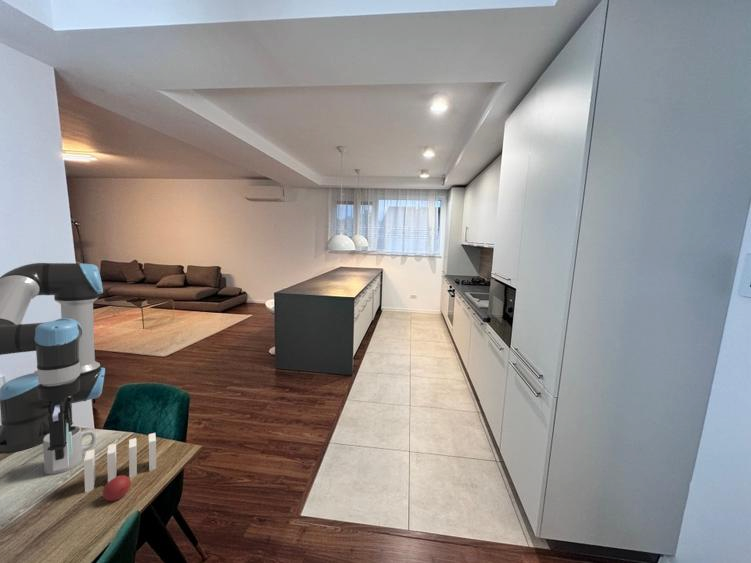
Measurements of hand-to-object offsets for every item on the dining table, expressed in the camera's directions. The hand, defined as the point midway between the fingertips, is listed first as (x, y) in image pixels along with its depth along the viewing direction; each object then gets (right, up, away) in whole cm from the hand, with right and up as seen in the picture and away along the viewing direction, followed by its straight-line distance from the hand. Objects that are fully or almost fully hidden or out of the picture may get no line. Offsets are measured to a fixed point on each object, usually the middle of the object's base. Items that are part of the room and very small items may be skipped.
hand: (63, 461), depth 79 cm
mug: (-16, -11, +18) cm, 27 cm away
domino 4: (+6, -13, +16) cm, 21 cm away
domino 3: (+2, -13, +12) cm, 18 cm away
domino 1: (0, 0, 0) cm, 0 cm away
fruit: (+10, -14, +6) cm, 18 cm away
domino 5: (+10, -13, +19) cm, 25 cm away
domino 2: (-2, -13, +9) cm, 16 cm away
